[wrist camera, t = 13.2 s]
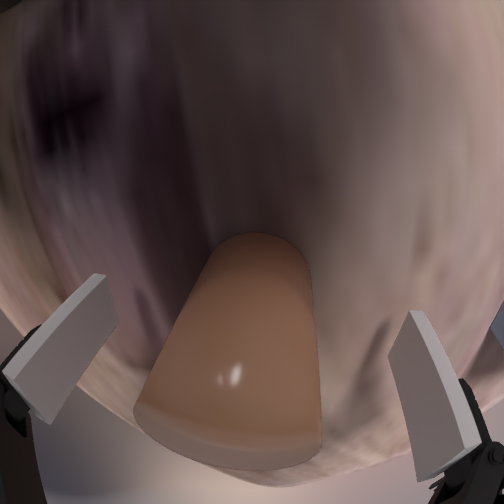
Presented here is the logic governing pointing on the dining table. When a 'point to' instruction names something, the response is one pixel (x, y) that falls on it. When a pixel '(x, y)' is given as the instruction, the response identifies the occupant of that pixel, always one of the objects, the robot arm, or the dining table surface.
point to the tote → (499, 326)
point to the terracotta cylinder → (240, 362)
